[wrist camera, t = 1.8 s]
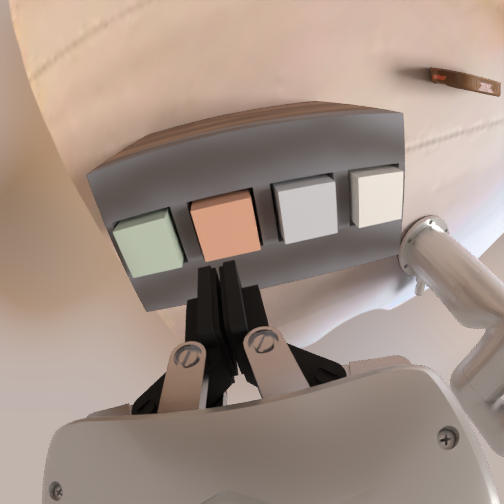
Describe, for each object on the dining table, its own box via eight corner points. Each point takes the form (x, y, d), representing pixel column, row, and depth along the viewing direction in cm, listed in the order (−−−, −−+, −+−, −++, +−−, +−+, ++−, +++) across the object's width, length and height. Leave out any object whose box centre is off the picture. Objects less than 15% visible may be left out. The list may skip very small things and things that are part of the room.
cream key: (385, 206, 21) (401, 218, 19) (345, 214, 21) (358, 228, 19) (386, 162, 19) (403, 171, 17) (343, 168, 19) (358, 177, 17)
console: (325, 184, 38) (398, 254, 22) (171, 217, 38) (146, 311, 22) (315, 101, 32) (403, 112, 16) (147, 135, 32) (86, 174, 16)
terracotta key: (256, 233, 21) (261, 249, 19) (206, 244, 21) (205, 262, 19) (246, 185, 19) (251, 197, 17) (192, 198, 19) (190, 211, 17)
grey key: (325, 218, 21) (337, 232, 19) (278, 228, 21) (285, 244, 19) (322, 171, 19) (335, 181, 17) (270, 180, 19) (277, 191, 17)
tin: (475, 76, 30) (509, 82, 23) (476, 92, 31) (510, 99, 24) (419, 65, 30) (456, 67, 22) (421, 84, 31) (458, 88, 24)
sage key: (184, 249, 21) (182, 267, 19) (139, 260, 21) (133, 278, 19) (169, 203, 19) (164, 217, 17) (122, 217, 19) (112, 232, 17)
